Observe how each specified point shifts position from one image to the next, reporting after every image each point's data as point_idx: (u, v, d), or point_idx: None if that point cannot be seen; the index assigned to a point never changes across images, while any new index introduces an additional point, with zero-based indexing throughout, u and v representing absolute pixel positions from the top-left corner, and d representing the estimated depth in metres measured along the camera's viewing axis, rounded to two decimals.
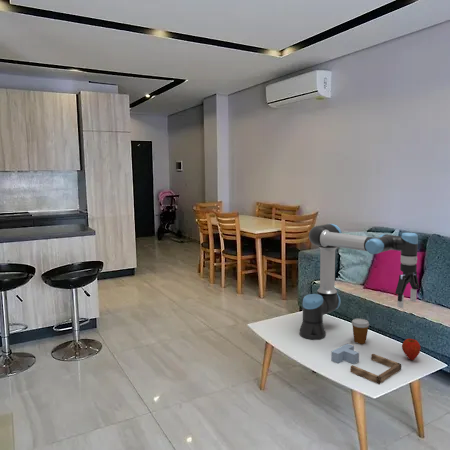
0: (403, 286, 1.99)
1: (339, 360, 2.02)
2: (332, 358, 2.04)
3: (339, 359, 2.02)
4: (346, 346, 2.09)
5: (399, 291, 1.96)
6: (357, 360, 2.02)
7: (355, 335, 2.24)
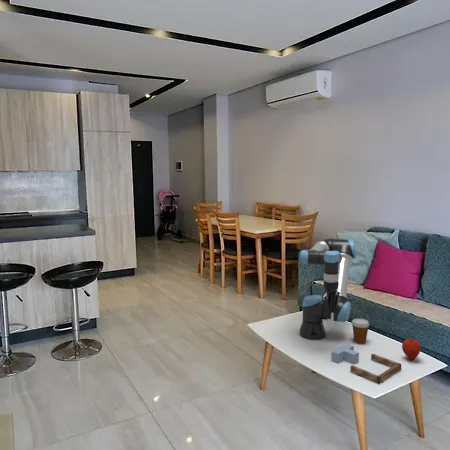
0: (329, 305, 2.08)
1: (339, 360, 2.02)
2: (332, 358, 2.04)
3: (339, 359, 2.02)
4: (346, 346, 2.09)
5: (327, 310, 2.07)
6: (357, 360, 2.02)
7: (355, 335, 2.24)
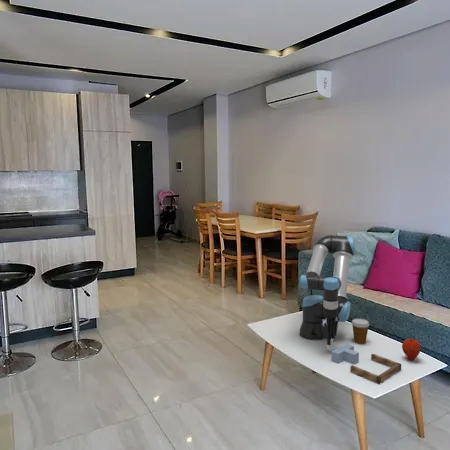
0: (329, 331, 2.10)
1: (339, 360, 2.02)
2: (332, 358, 2.04)
3: (339, 359, 2.02)
4: (346, 346, 2.09)
5: (326, 337, 2.09)
6: (357, 360, 2.02)
7: (355, 335, 2.24)
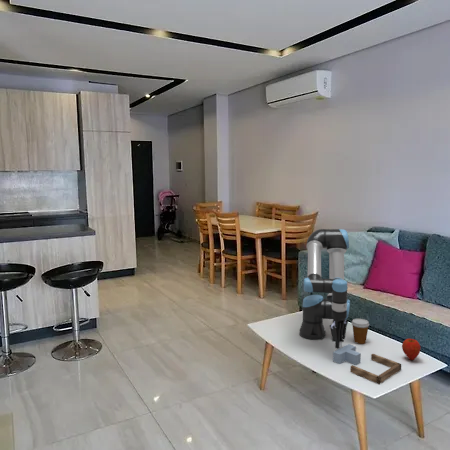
0: (337, 334, 2.06)
1: (341, 361, 2.01)
2: (334, 359, 2.03)
3: (341, 360, 2.01)
4: (348, 347, 2.08)
5: (335, 340, 2.05)
6: (359, 361, 2.01)
7: (355, 335, 2.24)
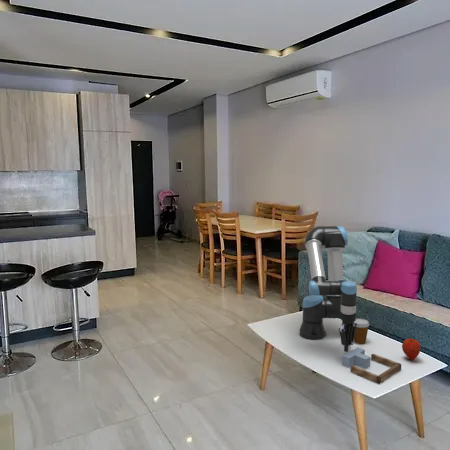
0: (346, 337, 2.02)
1: (350, 364, 1.97)
2: (343, 362, 1.99)
3: (350, 363, 1.97)
4: (357, 350, 2.04)
5: (344, 343, 2.01)
6: (368, 365, 1.97)
7: (355, 335, 2.24)
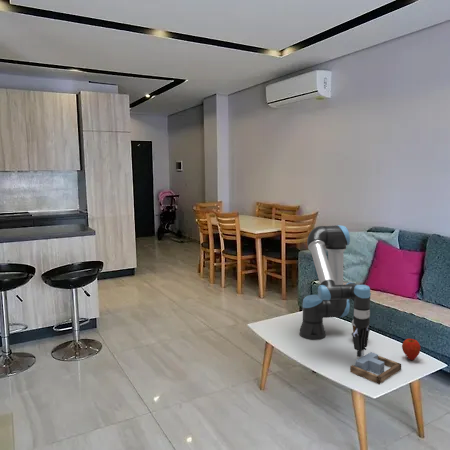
0: (359, 342, 1.96)
1: None
2: None
3: (363, 369, 1.92)
4: (370, 355, 1.99)
5: (357, 348, 1.95)
6: (382, 371, 1.91)
7: None
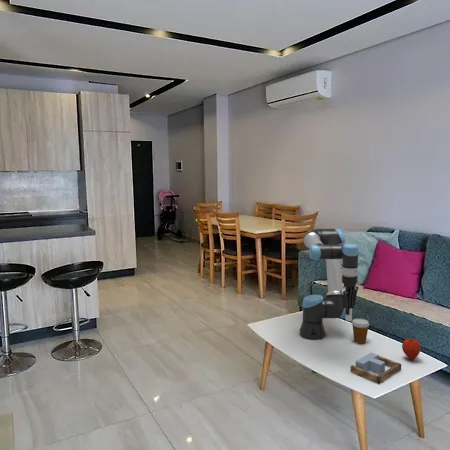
0: (348, 300, 1.99)
1: None
2: None
3: (364, 369, 1.91)
4: (370, 355, 1.99)
5: (345, 306, 1.98)
6: (383, 371, 1.91)
7: (355, 335, 2.24)
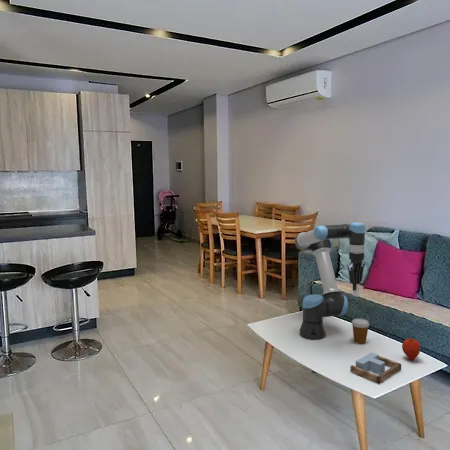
0: (355, 276, 2.08)
1: None
2: None
3: (364, 369, 1.91)
4: (371, 355, 1.99)
5: (352, 281, 2.08)
6: (383, 371, 1.91)
7: (355, 335, 2.24)
